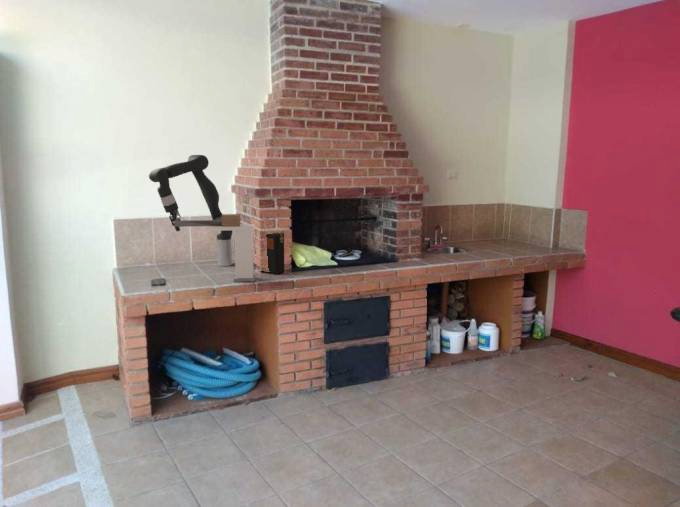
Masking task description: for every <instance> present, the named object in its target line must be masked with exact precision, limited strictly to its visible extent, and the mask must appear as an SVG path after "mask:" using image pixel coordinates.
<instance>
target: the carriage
mask: <svg viewBox="0 0 680 507" xmlns="http://www.w3.org/2000/svg"><path fill="white" fill-rule="evenodd" d="M221 218H222V220H213V219H206V220H205V219H203V220H202V219H200V220H199V219H198V220H197V219H196V220H195V219H194V220H191V219H190V220H181V221H174V223H175V227H179V228H182V227H183V228H184V227H211V226H222V227H226V226H240V224H241V214H240V213H239V214H237V213H236V214H234V213H233V214H232V213H230V214H229V213H228V214H225V213H224V214H223V213H222V216H221ZM175 227H174V228H175Z"/></svg>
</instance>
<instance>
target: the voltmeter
mask: <svg viewBox="0 0 680 507" xmlns="http://www.w3.org/2000/svg"><path fill="white" fill-rule="evenodd" d="M266 237H267V256H268V268H269V271H270V272H271V273H270V274H273V273H274V275H279V273H280V274H283V273H282V272H284V273H285V233H284V232H277V233H273V234H267V235H266Z"/></svg>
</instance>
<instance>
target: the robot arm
mask: <svg viewBox="0 0 680 507" xmlns="http://www.w3.org/2000/svg"><path fill="white" fill-rule="evenodd" d="M208 166H209V159H208V157H207V156H206V155H203V154H191V155H190V156H188V158H187V161H184V162H183V161H182V162H177V163H174V164H173V163H172V164H170V165H166V166H164V167H160V168H156V169H152V170H151V171H150V172H149V174H148V178H149V180H150V182H153V183H159V186H158V187H157V192H158V195H159V198H160V201H161V204H162V207H163V209H164V211H165V213H166V214H169V216H168V218H169V221H170V222H171V226H173V227H174V229H175V231H176V232H180V231H181V227H175V223H174V221H182V220H181V218H182V217H181V214H180V212H179V206H178V203H177V200H176V198H175V196H174V194H173V191H172V189H171V187H170V186H171V185H170V179H172V178H175V177H178V176H180V175H184V174H187V173H190V172H191V173H192V175H193V176H194V178H195V181H196V182H197V184H198V187H199V189H200V191H201V194H202V197H203V198H204V201H205V202H206V203H205V204H206V206H207V208H208V210H209V212H210V216H211V220H222V218H221V216H222V214H223V213H222V211H221V208H220V206H219V201H220V194H219V191H218V189H217V187H216V185H215V184H214V182H212V180H211V179H209V177H208V176H207V175H206V173H204V171H205V170H206V169H207V168H208ZM232 235H233V230H225V231H220V233H218V234H216V252H217V253H216V254H217V255H216V256H217V259H216V260H217V266H218V267H230V266H232V265H233V255H232V254H233V253H232V248H233V246H232Z"/></svg>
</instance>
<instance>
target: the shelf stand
mask: <svg viewBox="0 0 680 507" xmlns="http://www.w3.org/2000/svg"><path fill="white" fill-rule="evenodd" d="M225 230H232V231H233V232H234V261H235V262H234V266H235V268H234V269H235V271H234V272H235V274H234V277H233V282H234V283H243V282H242V281H255V282H256V274H255V273H254V237H253V235H254V234H253V232H254V231H255V224H254V223H253V224H251V223H250V224H249V223H247V224H246V223H243V224H242V223H240V226H226V227H222V226H210V231H212V232H213V231H214V232H215V231H216V232H218V231H219V232H221V231H225Z"/></svg>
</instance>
